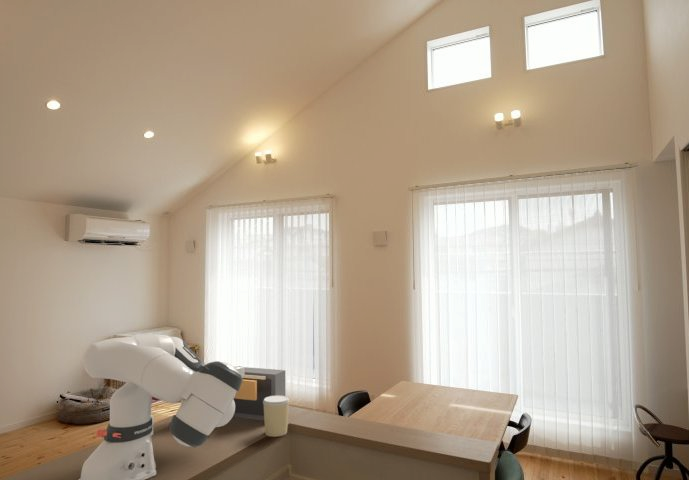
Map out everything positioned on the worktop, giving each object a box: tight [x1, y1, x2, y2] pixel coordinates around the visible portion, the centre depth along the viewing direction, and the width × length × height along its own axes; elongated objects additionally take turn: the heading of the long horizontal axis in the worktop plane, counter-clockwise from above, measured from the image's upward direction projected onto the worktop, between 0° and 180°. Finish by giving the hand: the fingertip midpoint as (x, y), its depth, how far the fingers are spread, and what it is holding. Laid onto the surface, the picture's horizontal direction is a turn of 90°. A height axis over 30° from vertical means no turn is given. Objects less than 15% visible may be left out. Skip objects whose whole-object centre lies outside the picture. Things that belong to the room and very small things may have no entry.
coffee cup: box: [263, 395, 290, 438], centre depth 163 cm, size 9×9×12 cm
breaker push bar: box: [234, 379, 257, 400], centre depth 174 cm, size 3×16×7 cm, turn 69°
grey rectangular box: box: [232, 365, 286, 422], centre depth 182 cm, size 9×26×18 cm, turn 69°
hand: (230, 367), depth 167 cm, fingers open, 8 cm apart
